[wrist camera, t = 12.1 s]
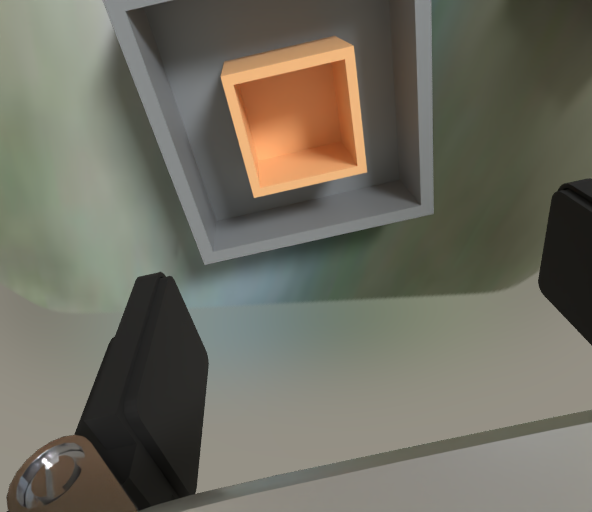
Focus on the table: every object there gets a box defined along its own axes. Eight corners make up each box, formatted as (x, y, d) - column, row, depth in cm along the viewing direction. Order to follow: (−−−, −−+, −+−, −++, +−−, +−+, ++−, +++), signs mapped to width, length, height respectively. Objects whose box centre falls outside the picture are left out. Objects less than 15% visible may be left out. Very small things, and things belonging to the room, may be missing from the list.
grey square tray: (395, -70, 23) (430, -83, 18) (407, 183, 31) (433, 213, 27) (126, -7, 23) (100, -6, 19) (209, 227, 31) (204, 265, 27)
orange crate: (334, 35, 24) (353, 45, 20) (348, 144, 28) (367, 172, 24) (224, 61, 24) (220, 76, 20) (252, 166, 28) (253, 197, 24)
